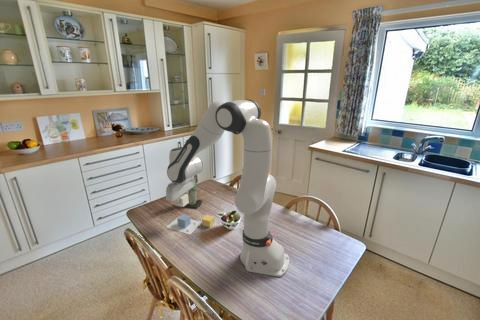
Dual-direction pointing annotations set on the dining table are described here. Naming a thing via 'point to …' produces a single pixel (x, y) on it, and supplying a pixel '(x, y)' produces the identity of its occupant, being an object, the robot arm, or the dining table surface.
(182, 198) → the block
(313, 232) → the dining table surface
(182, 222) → the block
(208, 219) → the block
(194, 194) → the figurine
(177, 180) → the robot arm
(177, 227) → the build plate
